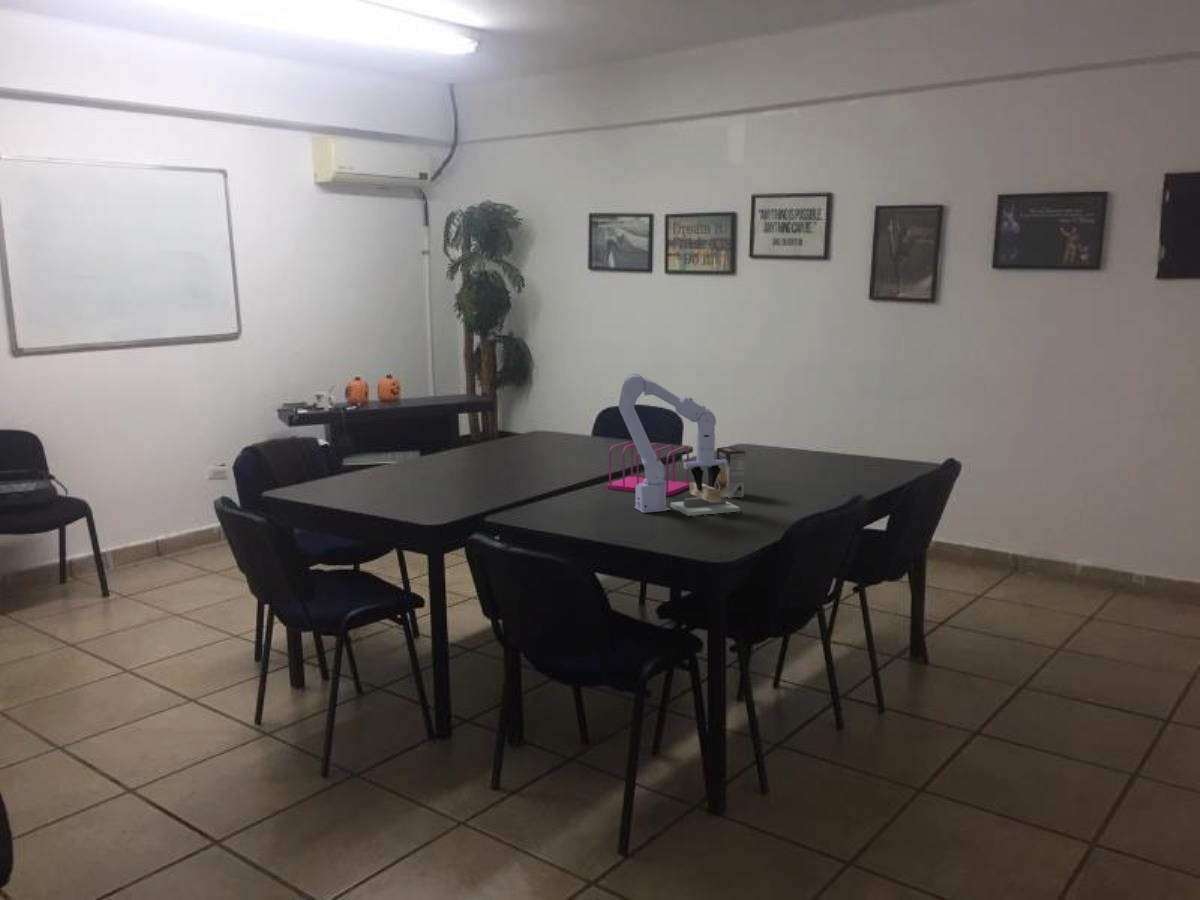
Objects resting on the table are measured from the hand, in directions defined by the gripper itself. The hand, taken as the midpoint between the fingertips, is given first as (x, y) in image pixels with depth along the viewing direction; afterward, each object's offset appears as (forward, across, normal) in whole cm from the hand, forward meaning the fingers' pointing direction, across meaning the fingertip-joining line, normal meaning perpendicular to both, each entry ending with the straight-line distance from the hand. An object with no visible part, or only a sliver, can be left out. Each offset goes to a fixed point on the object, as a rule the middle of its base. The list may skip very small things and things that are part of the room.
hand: (705, 489), depth 309 cm
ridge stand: (+7, 0, 0) cm, 7 cm away
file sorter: (+7, -5, +36) cm, 37 cm away
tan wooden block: (+3, 0, 0) cm, 3 cm away
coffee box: (+7, +17, +16) cm, 24 cm away
